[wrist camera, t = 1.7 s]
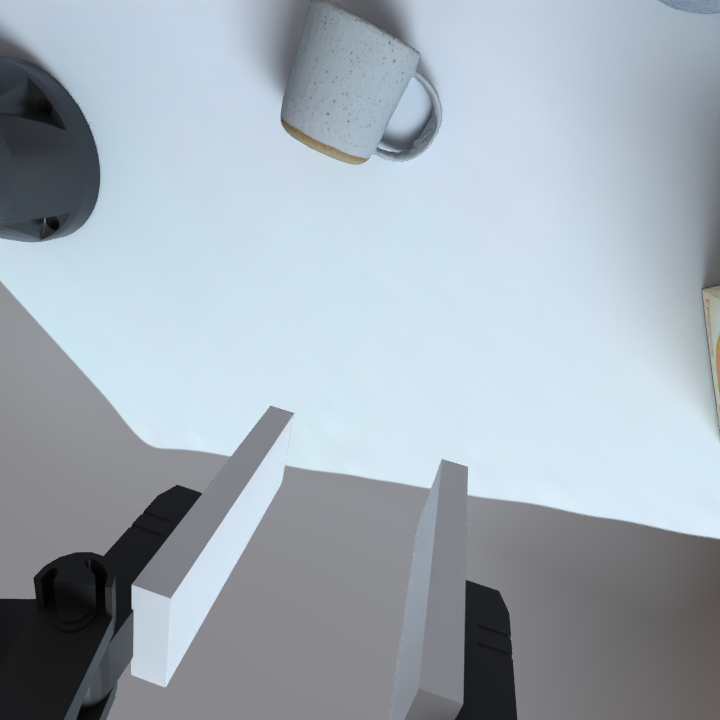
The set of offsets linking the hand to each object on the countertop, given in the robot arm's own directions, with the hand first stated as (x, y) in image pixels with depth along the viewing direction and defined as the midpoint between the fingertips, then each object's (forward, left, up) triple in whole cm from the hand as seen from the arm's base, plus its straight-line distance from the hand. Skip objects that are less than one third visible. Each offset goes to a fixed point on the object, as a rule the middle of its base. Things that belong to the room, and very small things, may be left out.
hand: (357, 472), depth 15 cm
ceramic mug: (-8, +11, -29) cm, 32 cm away
